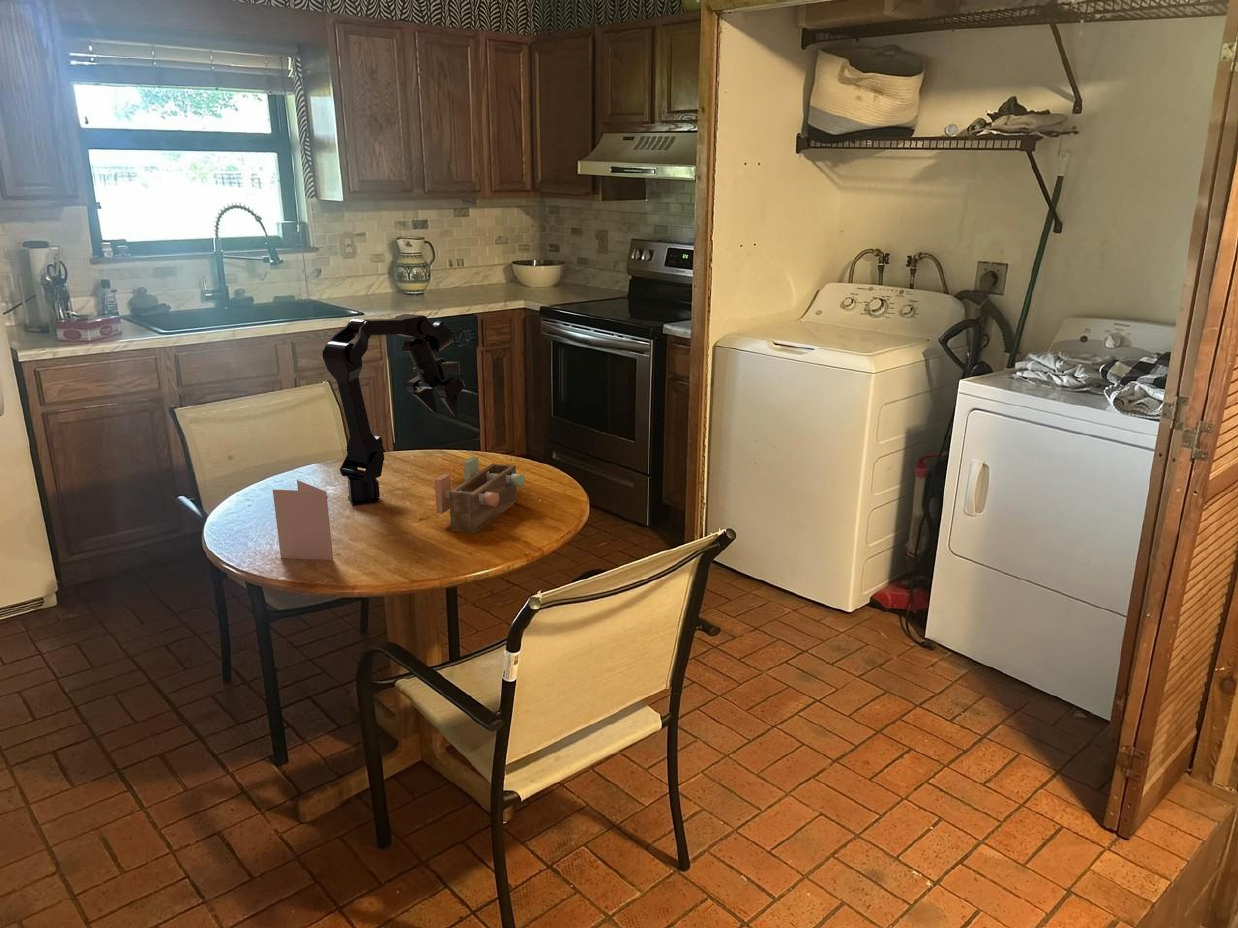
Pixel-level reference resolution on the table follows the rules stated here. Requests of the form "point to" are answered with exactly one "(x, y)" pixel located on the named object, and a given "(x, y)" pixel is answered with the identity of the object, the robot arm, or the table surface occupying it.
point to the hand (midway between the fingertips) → (446, 414)
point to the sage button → (473, 468)
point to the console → (466, 504)
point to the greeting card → (303, 523)
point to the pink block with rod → (445, 486)
